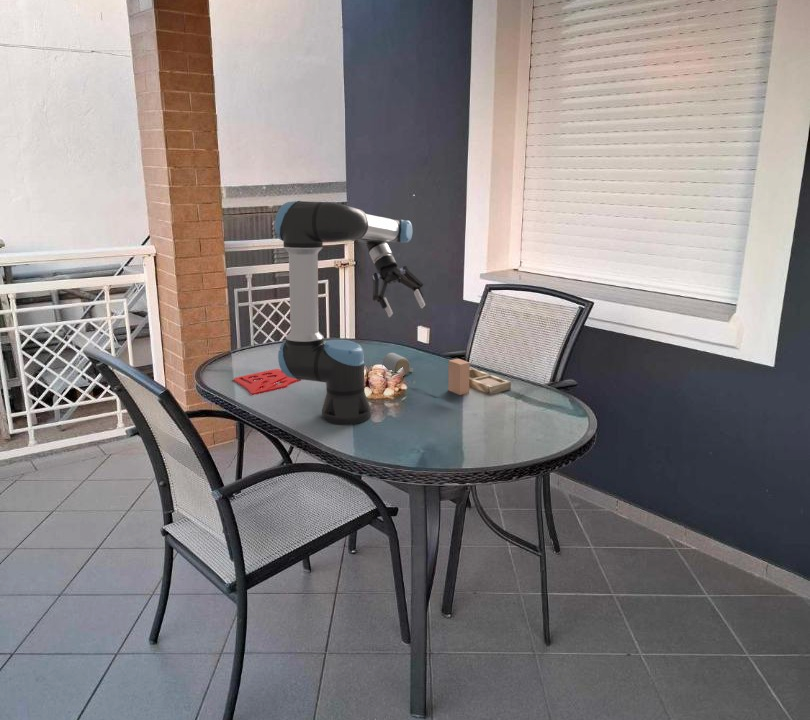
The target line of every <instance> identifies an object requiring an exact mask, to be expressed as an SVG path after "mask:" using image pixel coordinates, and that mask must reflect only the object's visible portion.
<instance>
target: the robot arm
mask: <svg viewBox="0 0 810 720" xmlns="http://www.w3.org/2000/svg"><path fill="white" fill-rule="evenodd" d="M274 232H275V234H276V237H277V238H278V239H279V240H280V241H282V242H283V248H284V250H286V252H287V254H288V271H289V272H288V273H289V277H288V278H289V279H288V281H289V318H290V321H289V324H290V326H289V327H290V331H289V333H288V334H287V335H286V336H285V341H283V342H282V343H281V344H280V346H279V350H278V353H277V359H278V365H279V368H280V370H282V372H283V373H284V374H285V375H286V376H288V377H290V378H295V379H298V380H305V381H312V382H319V383H325V385H326V388H325V389H326V395H325V397H324V400H323V405H322V408H321V418H322V420H323V421H325V422H326V423H329V424H333V425H342V426H343V425H348V426H349V425H356V424H360V423H363V422H366V421H367V420H370V419H371V415H372V409H371V406H370V403H369V401H368V398H367V396H366V395H367V394H366V391H365V357H364V354H365V353H364V349H363V347H362V346H361V345H360V344H359V343H357V342H355V341H352V340H346V339H330V340H327V341H326V342H325V341H324V339H325V337H324V335H323V334H322V333H321V332H320V331H319V330H320V329H319V321H320V320H319V257H318V255H319V252H320V251H321V250H323V248H324V246H323V245H324V244H323V243H336V242H337V243H339V242H346V241H347V242H348V241H352V242H353V241H355V242H356V241H358V242H361V243H362V244H364V245H365V248H366V251H368V254H369V256H370V258H371V260H372V262H373V264H374V266H375V267H374V268H375V269H376V271H377V272H374V273H373V275H372V276H371V278H372V300H373V301H377V303H379V304H380V306H381V308H382V310H383V309H384V310H385V312H386V314H387V317H388V318H391V317H392V316H393V315H394V312H393V309H392V308H391V306H390V302H389V301H388V299H387V296H384V295H385V293H386V290H387V286H388V284H389V285H390V284H394V283H397V282H398V283H400V284H403V286H406V287H407V288H409V289H411V290H412V291H414V292H413V294H414V298H415V299H416V301H417V303H418V306H419V307H420V309H424V307H425V306H426V302H425V300H424V298H423V297H424V294H423V292H422V290H421V289H422V287H424V283H423V281H420V279H419V278H417V277H416V276H415V275H414V274H413V273H412V272H411V271H410V270H409V269H408V266H406V265H404V266H403V267H401V268H399V267H398V263H397V261H396V260H395V257H394V255H393V252H392V249H391V248H390V246H389V244H388V243H409V242H410V241H411V240H412V237H413V232H414V231H413V224H412V223H411V221H410V220H405V219H394V218H393V219H392V218H389V217H384V216H379V215H378V216H377V215H374V214H368V213H365V212H364V211H363V210H362V209H359V208H357V207H353V206H349V205H345V204H341V203H338V202H333V201H307V200H306V201H304V200H297V201H296V200H295V201H287V202H285V203H283V204H282V205H281V206H280V208H279V209H278V210H277V213H276V216H275V219H274ZM380 279H381V280H382V284H381V287H380V289H379V285H380V284H379V283H380V281H379V280H380ZM379 290H380V291H379ZM324 342H325V343H324Z"/></svg>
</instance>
